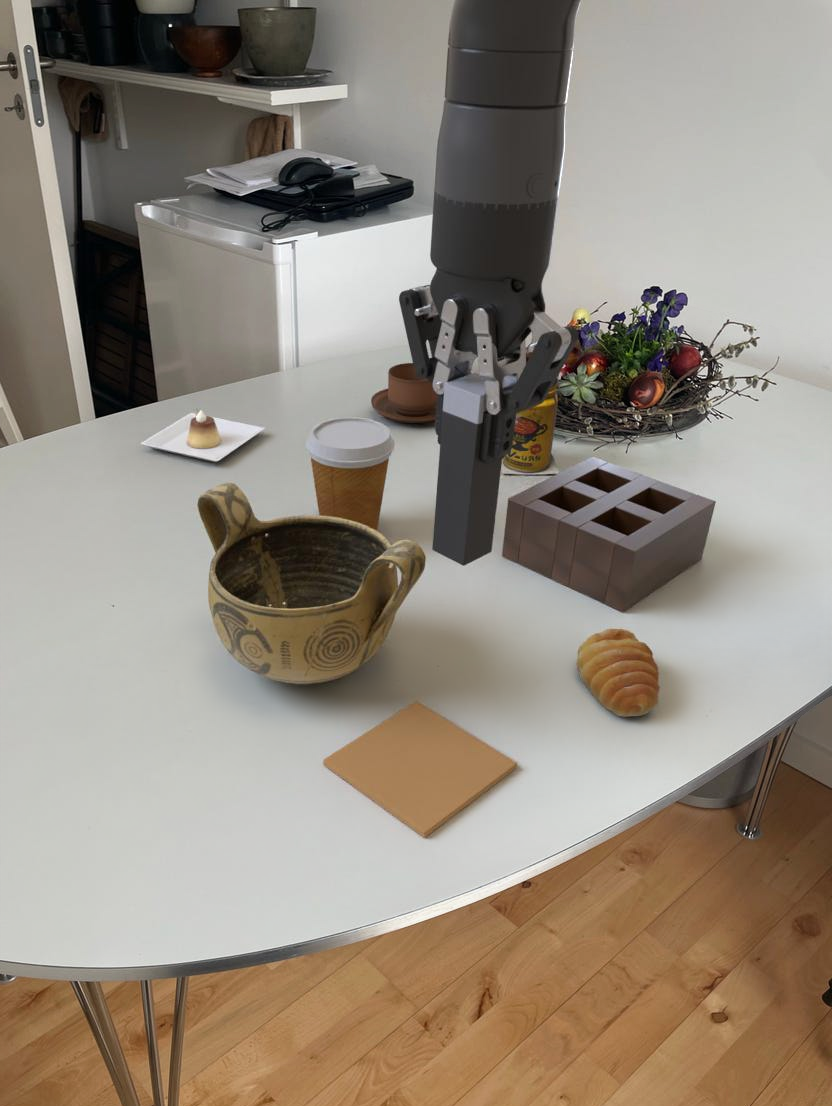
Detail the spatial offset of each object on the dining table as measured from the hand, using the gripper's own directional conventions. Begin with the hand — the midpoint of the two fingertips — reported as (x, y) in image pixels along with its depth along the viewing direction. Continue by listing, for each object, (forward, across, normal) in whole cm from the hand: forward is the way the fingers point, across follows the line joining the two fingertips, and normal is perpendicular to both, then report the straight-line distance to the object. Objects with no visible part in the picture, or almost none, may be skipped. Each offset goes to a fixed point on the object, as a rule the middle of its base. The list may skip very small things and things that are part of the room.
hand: (471, 450), depth 68 cm
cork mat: (+25, -3, +6) cm, 26 cm away
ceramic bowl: (+25, +14, +3) cm, 29 cm away
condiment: (+25, +28, -47) cm, 60 cm away
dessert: (+25, +61, -19) cm, 69 cm away
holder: (+24, +7, -33) cm, 42 cm away
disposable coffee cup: (+25, +30, -17) cm, 42 cm away
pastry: (+25, -7, -15) cm, 30 cm away
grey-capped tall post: (+8, 0, 0) cm, 8 cm away
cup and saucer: (+25, +49, -47) cm, 73 cm away
